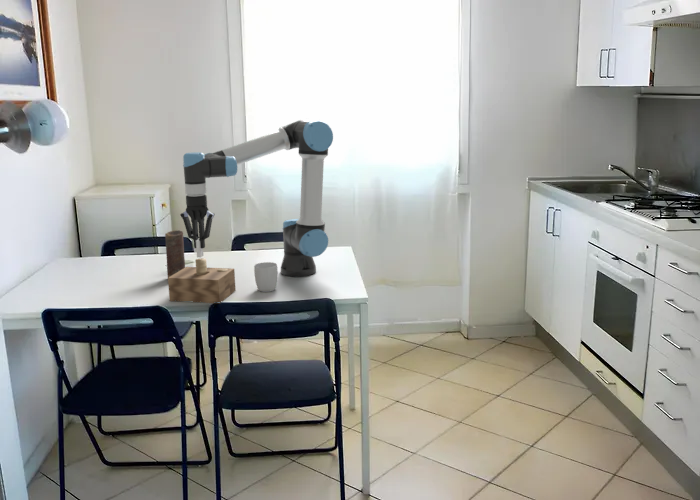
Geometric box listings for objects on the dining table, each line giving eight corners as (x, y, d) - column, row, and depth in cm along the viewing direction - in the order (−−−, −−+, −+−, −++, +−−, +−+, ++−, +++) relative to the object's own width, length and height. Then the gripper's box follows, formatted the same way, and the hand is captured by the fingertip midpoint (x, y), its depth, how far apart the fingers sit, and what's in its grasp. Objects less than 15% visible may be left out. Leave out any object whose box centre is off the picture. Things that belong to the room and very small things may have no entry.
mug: (279, 292, 262) (278, 267, 259) (256, 293, 260) (254, 268, 258) (276, 283, 274) (275, 259, 271) (253, 284, 272) (252, 260, 270)
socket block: (235, 290, 264) (234, 268, 262) (219, 303, 249) (218, 279, 247) (188, 288, 268) (186, 266, 266) (169, 300, 253) (167, 277, 251)
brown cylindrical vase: (189, 277, 285) (186, 230, 280) (178, 281, 278) (174, 234, 273) (175, 275, 288) (171, 229, 283) (164, 279, 281) (160, 233, 277)
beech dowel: (209, 281, 259) (207, 258, 257) (205, 284, 255) (203, 261, 253) (199, 280, 260) (198, 258, 258) (195, 283, 256) (193, 260, 254)
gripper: (216, 193, 252) (220, 254, 257) (184, 192, 254) (188, 253, 260) (208, 196, 245) (212, 259, 250) (175, 195, 247) (179, 258, 253)
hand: (200, 256), depth 255 cm, fingers closed
